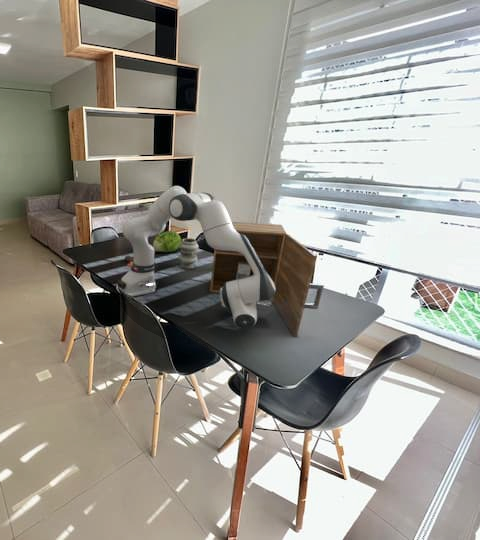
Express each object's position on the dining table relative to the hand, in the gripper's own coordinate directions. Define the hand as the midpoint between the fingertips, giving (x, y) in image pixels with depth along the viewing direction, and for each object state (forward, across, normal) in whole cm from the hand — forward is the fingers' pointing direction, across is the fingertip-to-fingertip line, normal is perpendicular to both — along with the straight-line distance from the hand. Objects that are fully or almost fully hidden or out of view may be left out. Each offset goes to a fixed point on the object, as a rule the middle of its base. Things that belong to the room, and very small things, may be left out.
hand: (243, 289), depth 131 cm
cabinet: (+23, 0, +10) cm, 25 cm away
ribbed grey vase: (+46, +32, +10) cm, 57 cm away
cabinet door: (-1, -20, +10) cm, 23 cm away
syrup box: (+20, 0, +9) cm, 23 cm away
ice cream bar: (+42, +69, +10) cm, 81 cm away
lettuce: (+73, +52, +10) cm, 90 cm away
